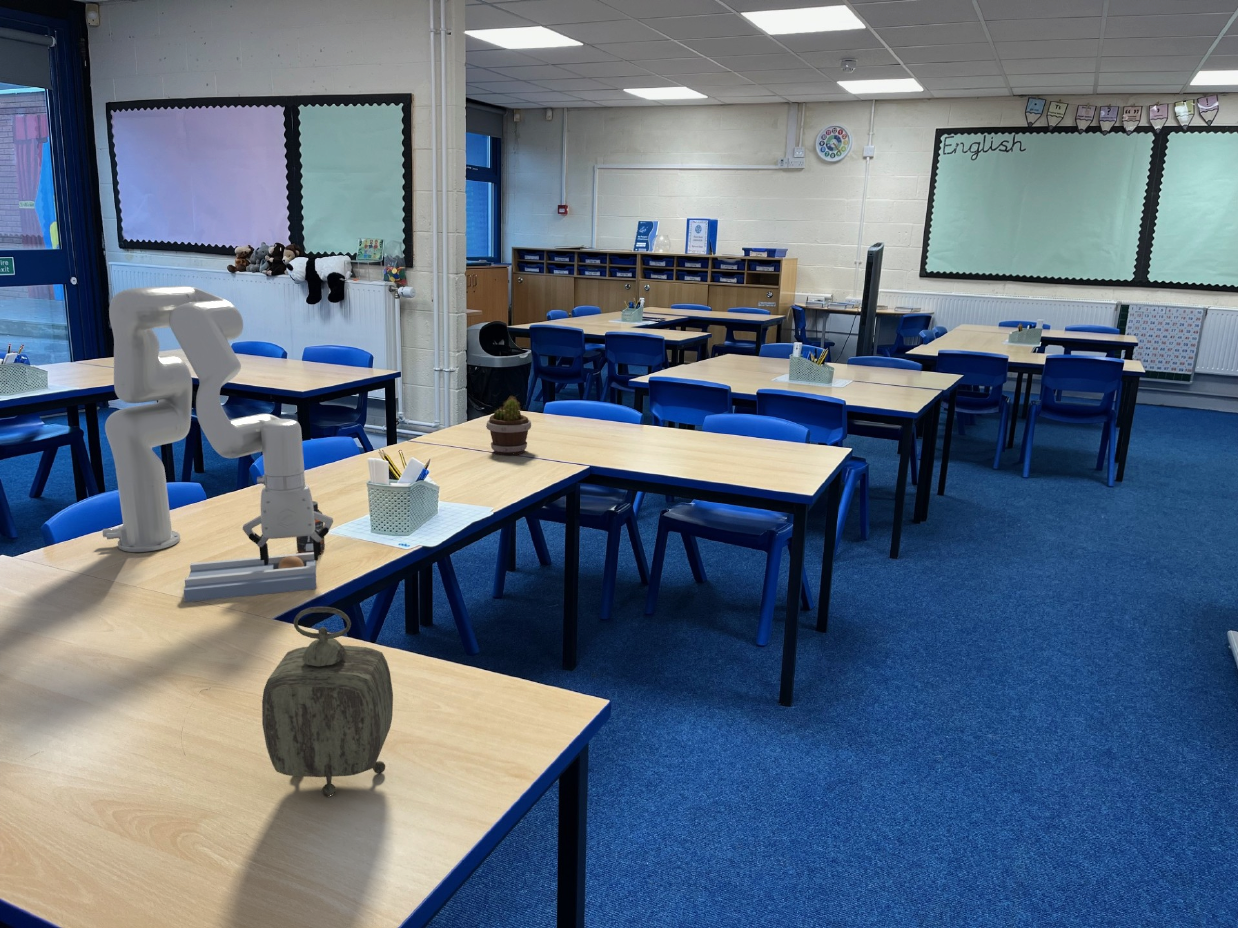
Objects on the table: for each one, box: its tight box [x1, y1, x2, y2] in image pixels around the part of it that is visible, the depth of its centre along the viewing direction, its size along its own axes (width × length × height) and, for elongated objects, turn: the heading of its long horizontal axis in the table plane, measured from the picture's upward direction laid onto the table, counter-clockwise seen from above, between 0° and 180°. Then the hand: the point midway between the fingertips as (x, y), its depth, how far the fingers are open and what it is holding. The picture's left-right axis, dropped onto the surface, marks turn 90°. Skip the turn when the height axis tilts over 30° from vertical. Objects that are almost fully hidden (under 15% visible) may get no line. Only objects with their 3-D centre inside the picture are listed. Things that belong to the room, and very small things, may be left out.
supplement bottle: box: [295, 500, 326, 554], centre depth 196 cm, size 6×6×11 cm
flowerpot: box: [485, 395, 532, 456], centre depth 288 cm, size 14×15×20 cm
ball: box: [278, 556, 304, 569], centre depth 180 cm, size 5×5×5 cm
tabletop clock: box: [261, 606, 394, 797], centre depth 110 cm, size 14×9×25 cm, turn 92°
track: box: [183, 552, 317, 603], centre depth 178 cm, size 24×14×4 cm, turn 109°
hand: (291, 560), depth 180 cm, fingers open, 9 cm apart
